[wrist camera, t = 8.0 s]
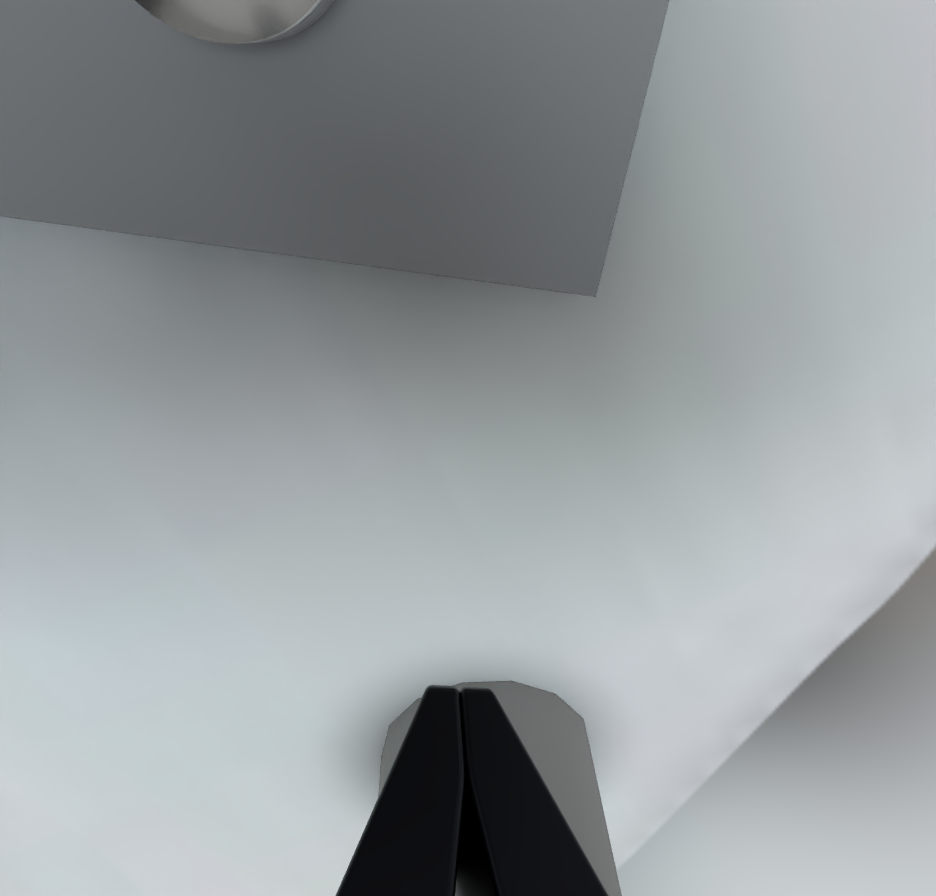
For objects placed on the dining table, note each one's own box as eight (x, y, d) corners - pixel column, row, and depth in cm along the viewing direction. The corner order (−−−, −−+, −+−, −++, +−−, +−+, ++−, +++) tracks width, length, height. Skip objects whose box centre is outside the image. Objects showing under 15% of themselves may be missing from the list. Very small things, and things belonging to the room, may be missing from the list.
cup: (356, 702, 26) (318, 1024, 18) (570, 662, 26) (637, 975, 17) (415, 827, 31) (407, 1135, 22) (600, 795, 30) (665, 1100, 21)
